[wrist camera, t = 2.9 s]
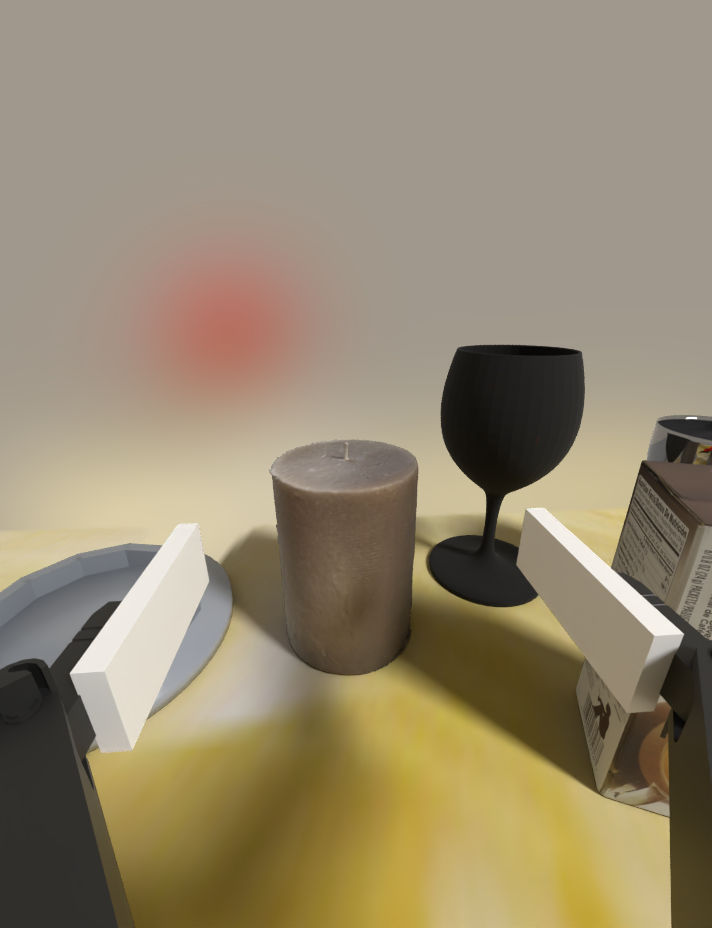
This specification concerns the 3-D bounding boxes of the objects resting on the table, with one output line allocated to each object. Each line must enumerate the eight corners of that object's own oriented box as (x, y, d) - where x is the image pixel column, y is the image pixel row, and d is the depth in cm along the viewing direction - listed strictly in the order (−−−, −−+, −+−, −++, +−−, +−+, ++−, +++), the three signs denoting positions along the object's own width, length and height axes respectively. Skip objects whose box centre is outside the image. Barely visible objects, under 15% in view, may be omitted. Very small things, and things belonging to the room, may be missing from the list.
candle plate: (-204, 756, 21) (-233, 722, 20) (79, 548, 39) (71, 524, 38) (134, 803, 19) (121, 768, 18) (266, 560, 37) (263, 535, 36)
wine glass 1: (425, 535, 41) (440, 343, 34) (525, 541, 40) (562, 344, 33) (432, 602, 32) (454, 356, 24) (562, 613, 31) (627, 358, 23)
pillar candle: (436, 643, 28) (454, 450, 23) (313, 702, 24) (299, 483, 18) (370, 570, 36) (372, 416, 31) (269, 605, 32) (250, 433, 26)
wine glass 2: (620, 623, 30) (680, 440, 24) (598, 564, 37) (641, 411, 31) (749, 652, 27) (850, 455, 22) (700, 582, 34) (767, 420, 28)
